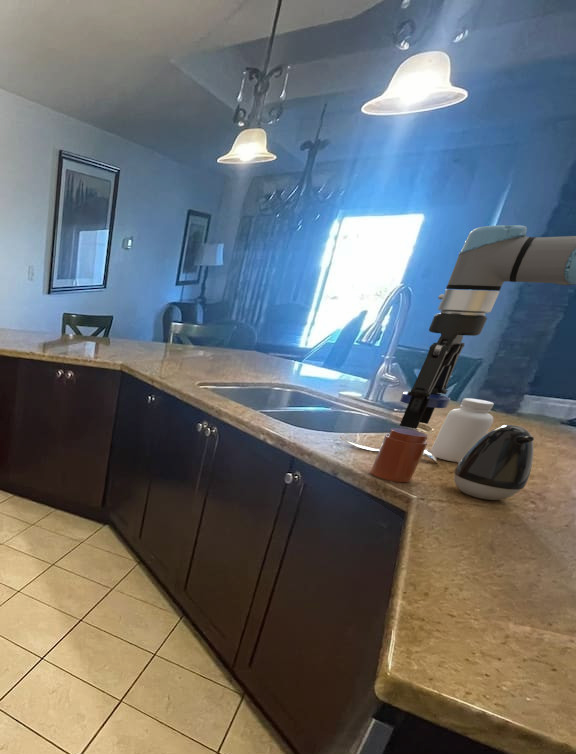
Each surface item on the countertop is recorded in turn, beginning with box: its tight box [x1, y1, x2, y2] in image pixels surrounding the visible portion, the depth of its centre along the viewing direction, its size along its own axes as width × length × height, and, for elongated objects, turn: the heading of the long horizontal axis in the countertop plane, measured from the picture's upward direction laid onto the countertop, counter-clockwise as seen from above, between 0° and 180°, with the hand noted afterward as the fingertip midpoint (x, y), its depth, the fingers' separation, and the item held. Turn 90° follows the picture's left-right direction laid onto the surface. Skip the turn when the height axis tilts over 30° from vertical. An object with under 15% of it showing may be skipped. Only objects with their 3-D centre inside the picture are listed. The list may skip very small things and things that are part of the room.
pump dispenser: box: [453, 424, 535, 501], centre depth 99 cm, size 10×10×15 cm
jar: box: [369, 427, 429, 483], centre depth 109 cm, size 7×7×10 cm
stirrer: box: [339, 435, 438, 464], centre depth 126 cm, size 20×4×5 cm
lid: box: [400, 391, 451, 409], centre depth 104 cm, size 8×7×2 cm
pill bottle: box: [430, 397, 495, 464], centre depth 121 cm, size 8×8×15 cm
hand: (413, 424), depth 106 cm, fingers closed on lid, 7 cm apart
